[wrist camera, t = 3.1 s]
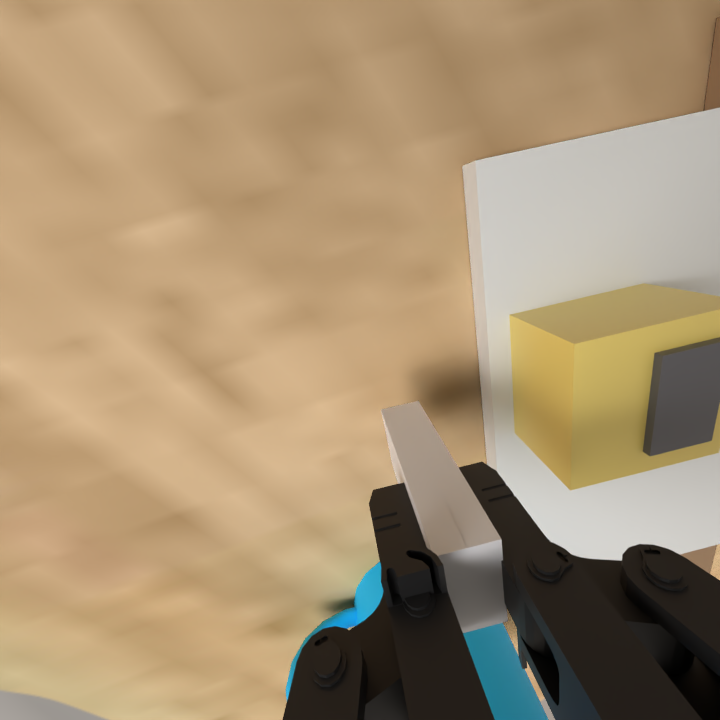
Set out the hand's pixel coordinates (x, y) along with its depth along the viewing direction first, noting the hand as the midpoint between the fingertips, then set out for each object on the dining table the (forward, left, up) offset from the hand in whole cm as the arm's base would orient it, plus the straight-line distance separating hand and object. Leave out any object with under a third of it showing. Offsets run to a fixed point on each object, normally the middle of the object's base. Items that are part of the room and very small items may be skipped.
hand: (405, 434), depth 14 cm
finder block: (0, +9, -2) cm, 9 cm away
